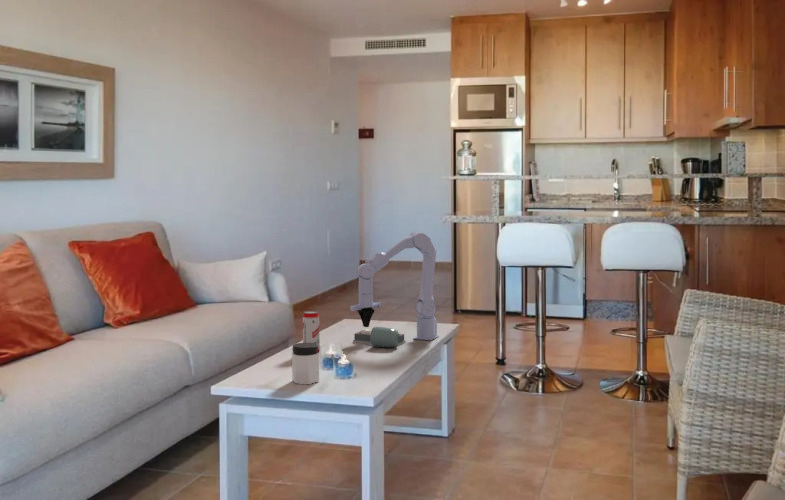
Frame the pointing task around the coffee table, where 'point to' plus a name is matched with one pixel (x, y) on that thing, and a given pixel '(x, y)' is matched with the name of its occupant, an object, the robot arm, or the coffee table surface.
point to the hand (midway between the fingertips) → (366, 326)
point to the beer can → (311, 328)
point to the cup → (384, 337)
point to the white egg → (365, 331)
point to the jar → (305, 363)
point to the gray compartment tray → (366, 338)
